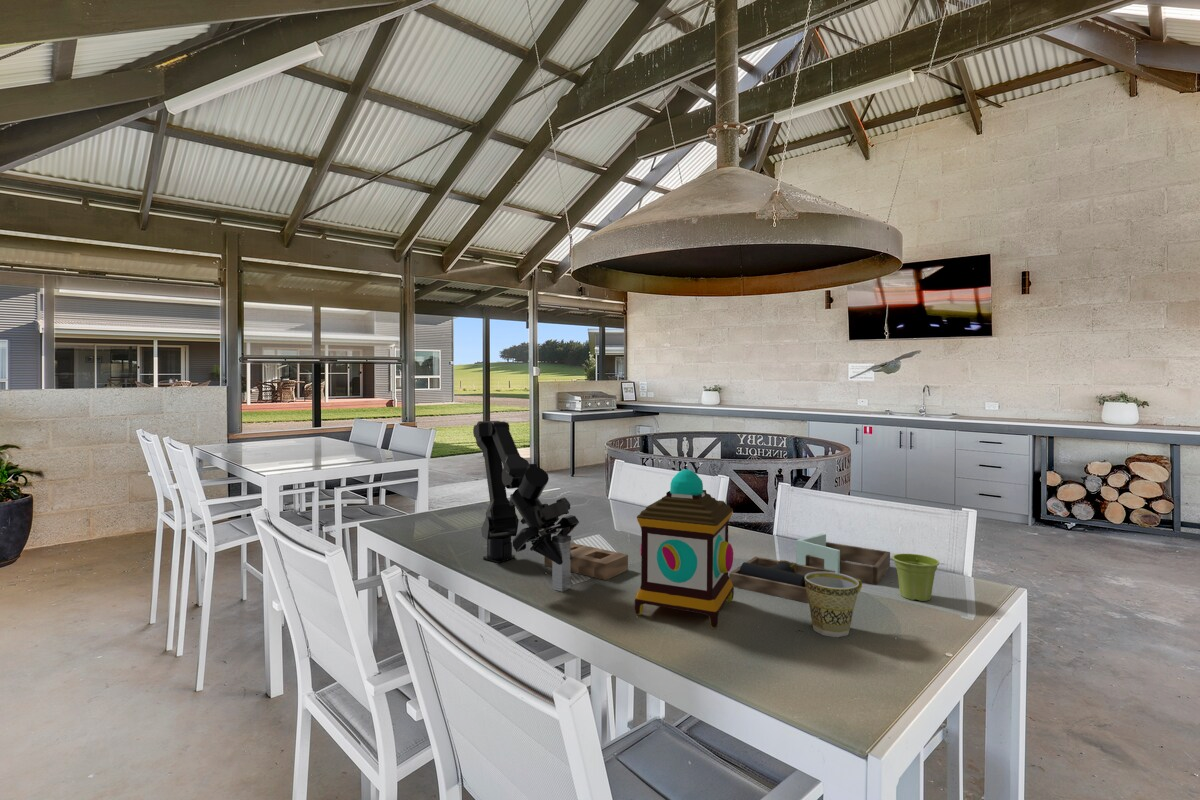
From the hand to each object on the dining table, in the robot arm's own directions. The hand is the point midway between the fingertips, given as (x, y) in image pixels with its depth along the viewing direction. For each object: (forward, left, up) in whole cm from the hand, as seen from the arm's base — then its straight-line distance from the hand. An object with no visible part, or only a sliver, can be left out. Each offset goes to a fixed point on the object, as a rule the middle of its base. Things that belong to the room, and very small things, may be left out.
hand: (566, 561), depth 134 cm
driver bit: (-1, 0, -7) cm, 7 cm away
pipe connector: (+39, +33, -7) cm, 52 cm away
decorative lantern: (+28, +7, -7) cm, 29 cm away
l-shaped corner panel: (+45, +54, -7) cm, 71 cm away
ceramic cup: (+57, +15, -7) cm, 59 cm away
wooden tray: (+40, +34, -7) cm, 53 cm away
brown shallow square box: (+50, +56, -7) cm, 75 cm away
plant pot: (+67, +44, -7) cm, 80 cm away
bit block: (-6, +16, -7) cm, 18 cm away
